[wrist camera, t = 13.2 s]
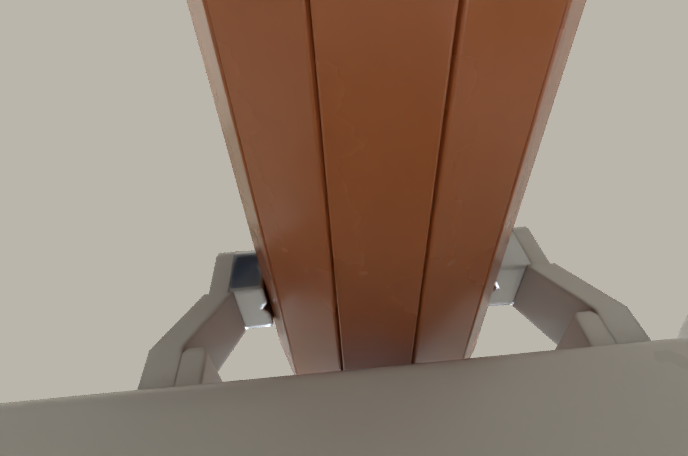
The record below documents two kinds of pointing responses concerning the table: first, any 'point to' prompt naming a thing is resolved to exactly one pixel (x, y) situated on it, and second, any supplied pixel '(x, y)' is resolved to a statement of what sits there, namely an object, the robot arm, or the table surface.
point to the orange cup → (382, 160)
